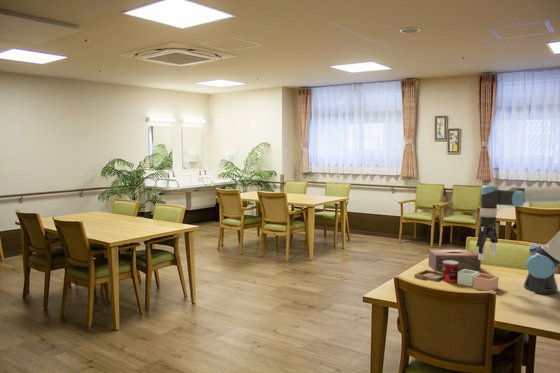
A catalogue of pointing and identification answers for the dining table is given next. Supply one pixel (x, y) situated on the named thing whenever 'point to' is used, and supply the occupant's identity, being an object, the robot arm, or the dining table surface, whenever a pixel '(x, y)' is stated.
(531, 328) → the dining table surface
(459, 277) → the mint green open box
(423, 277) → the tray
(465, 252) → the tissue box cover
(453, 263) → the canned food
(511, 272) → the dining table surface
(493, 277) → the pot
